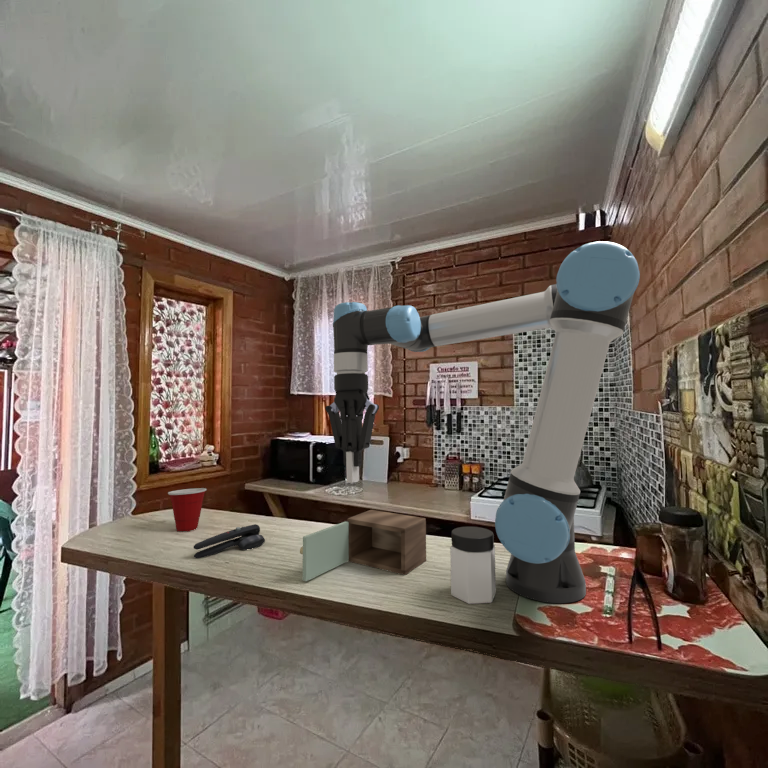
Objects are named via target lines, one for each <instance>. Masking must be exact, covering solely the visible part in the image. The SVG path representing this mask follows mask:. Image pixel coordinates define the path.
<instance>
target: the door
mask: <svg viewBox="0 0 768 768" xmlns="http://www.w3.org/2000/svg"><path fill="white" fill-rule="evenodd" d="M299 553H300V555H302V581H303V582H307V581H310V580H312V579H314V578H317V577H318V576H320V575H322V574H324V573H326V572H329V571H330V570H332V569H334V568H337V567H338V566H340V565H343V564H345V563H347V562H350V561H349V522H347V520H345V521H342V522H341V523H336V524H334V525H332V526H328V527H325V528H323V529H320V530H318V531H315V532H312V533H309V534H306V535H304V536H302V546H301V547H300V549H299Z"/></svg>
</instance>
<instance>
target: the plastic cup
mask: <svg viewBox="0 0 768 768" xmlns="http://www.w3.org/2000/svg"><path fill="white" fill-rule="evenodd" d="M207 490H208V489H207V488H206V487H205V488H204V487H201V488H199V487H198V488H197V487H196V488H186V489H177V490H172V491H168V492H167V494H168V495H169V497H170V498H169V499H170V502H171V507H172V512H173V518H174V523H175V530H176V532H178V531H187V532H191V531H190V530H193V531H195V530H197V529H198V527H199V523H200V517H201V512H202V507H203V501H204V497H205V493H206V491H207ZM196 528H197V529H196ZM194 529H195V530H194Z"/></svg>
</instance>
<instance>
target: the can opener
mask: <svg viewBox="0 0 768 768" xmlns="http://www.w3.org/2000/svg"><path fill="white" fill-rule="evenodd" d="M260 533H261V528H260V526H259V525H258V524H256V523H255V524H254V523H253V524H251V525H246V526H241V527H240V526H237V527H235V529H231V530H228V531H225V532H222V533H219V534H216V535H213V536H210V537H208V538H206V539H204V540H201V541H199V542H197V543H195V544H193V549H194V550H199V551H196V553H194V555H193V558H195V559H201V558H202V559H203V558H206V557H210V556H212V555H215V554H218V553H220V552H223V551H225V550H228V549H230V548H233V547H237V548H238V549H240V550H243V551H248V550H247V549H250V550H252V548H253V549H256V548H258V547H260V546H262V545H263V544H264V543H265V542H266V539H265V538H264V536H263V535H262V534H260ZM200 549H201V550H200Z"/></svg>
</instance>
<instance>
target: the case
mask: <svg viewBox="0 0 768 768" xmlns="http://www.w3.org/2000/svg"><path fill="white" fill-rule="evenodd" d="M426 519H427V518H425V517H419V516H415V515H407V514H401V513H396V512H395V513H393V512H389V511H382V510H375V509H370V510H367V511H366V510H365V511H364V512H361V513H359V514H356V515H353V516H350V517H347V519H346V522H349V561H348V562H350V563H354V564H358V565H363V566H366V567H370V568H374V569H378V568H379V569H380V570H382V569H383V570H384V571H386V570H388V571H387V572H390V571H391V572H390V573H394V572H395V573H396V574H398V573H399V575H402V576H407V575H408V574H409V573H410V572H412V571H414V570H415V569H416V568H418V567H419V566H421V565H422V564H424V563H425V562H426V561H427V521H426ZM379 569H378V570H379ZM395 573H394V574H395Z"/></svg>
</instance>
